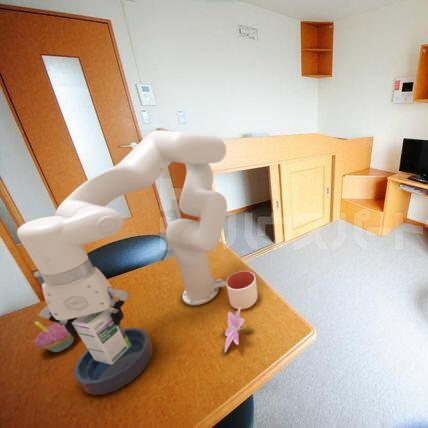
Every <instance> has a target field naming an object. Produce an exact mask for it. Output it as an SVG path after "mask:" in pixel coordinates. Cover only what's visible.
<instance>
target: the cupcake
mask: <svg viewBox="0 0 428 428" xmlns="http://www.w3.org/2000/svg"><path fill="white" fill-rule="evenodd" d="M32 323H34V325H35V326H37V327H38V328H40V329H41V330H42V331H41V332H39V333H38V334H37V335H36V338H35V339H34V343H33V344H34V346H35V347H36V348H37V349H39V350H48V351H50V352H52V353H58V352H62V351H64V350H65V349H68V348H70V346H71V345H72V344H73V343H74V340H75V339H74V337H75V336H74V337H72V336H71V334H70V332H68V331H67V329H66V328H65V326H60V325H59V323H56V322H54V323H52V324H50V325H48V326H47V327H45V326H44V325H42V324H41V323H40V322H39V321H35V320H33V322H32Z"/></svg>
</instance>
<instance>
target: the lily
mask: <svg viewBox="0 0 428 428" xmlns="http://www.w3.org/2000/svg"><path fill="white" fill-rule="evenodd" d="M241 310H242V309H241V307H240V308H239V309H237V311H236V313H235V315H234V313H232V312H231V310H228V314H227V326H228V327H227V328H226V330H225V332H224V336H226V339H225V343H224V354H226V353H227V351H228V349H229V347H230V345H231V343H232V342H234V343H235V345H237V346H239V342H240V341H239V333H240V331H241V330H244V331H246V332H248V333H251V331H249V330H248V329H246V328H243V327H242V325H243V324H244V322H245V318H242V317H241V316H240V315H241Z"/></svg>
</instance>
